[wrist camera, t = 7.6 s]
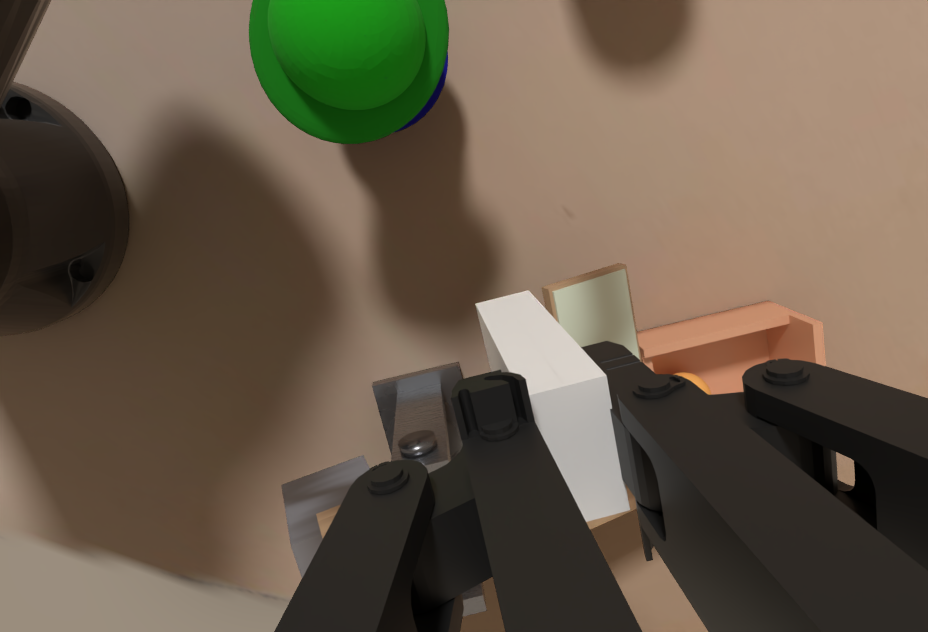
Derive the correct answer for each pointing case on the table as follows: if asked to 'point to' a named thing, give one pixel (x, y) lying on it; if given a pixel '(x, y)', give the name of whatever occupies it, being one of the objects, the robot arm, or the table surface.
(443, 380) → the bracket
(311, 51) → the toy
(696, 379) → the ball
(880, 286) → the table surface
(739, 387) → the pink open box
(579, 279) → the lever
